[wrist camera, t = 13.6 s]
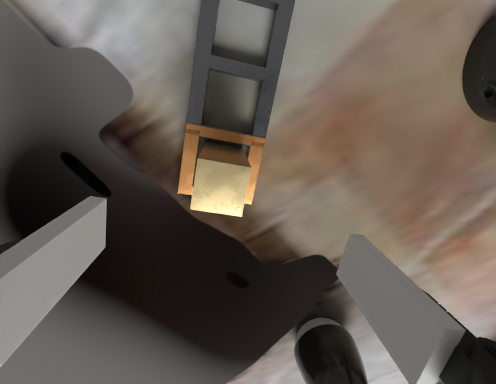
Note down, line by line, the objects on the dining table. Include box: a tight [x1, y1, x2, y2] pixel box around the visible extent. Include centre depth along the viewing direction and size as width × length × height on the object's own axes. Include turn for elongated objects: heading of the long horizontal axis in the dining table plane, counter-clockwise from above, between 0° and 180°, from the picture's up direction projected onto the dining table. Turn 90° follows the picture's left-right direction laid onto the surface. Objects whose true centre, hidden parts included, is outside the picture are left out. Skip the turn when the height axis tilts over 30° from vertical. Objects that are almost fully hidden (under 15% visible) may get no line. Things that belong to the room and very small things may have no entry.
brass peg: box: [190, 142, 252, 217], centre depth 30 cm, size 5×5×12 cm
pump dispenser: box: [294, 318, 368, 384], centre depth 39 cm, size 10×10×15 cm
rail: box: [178, 0, 295, 204], centre depth 32 cm, size 10×25×2 cm, turn 169°
